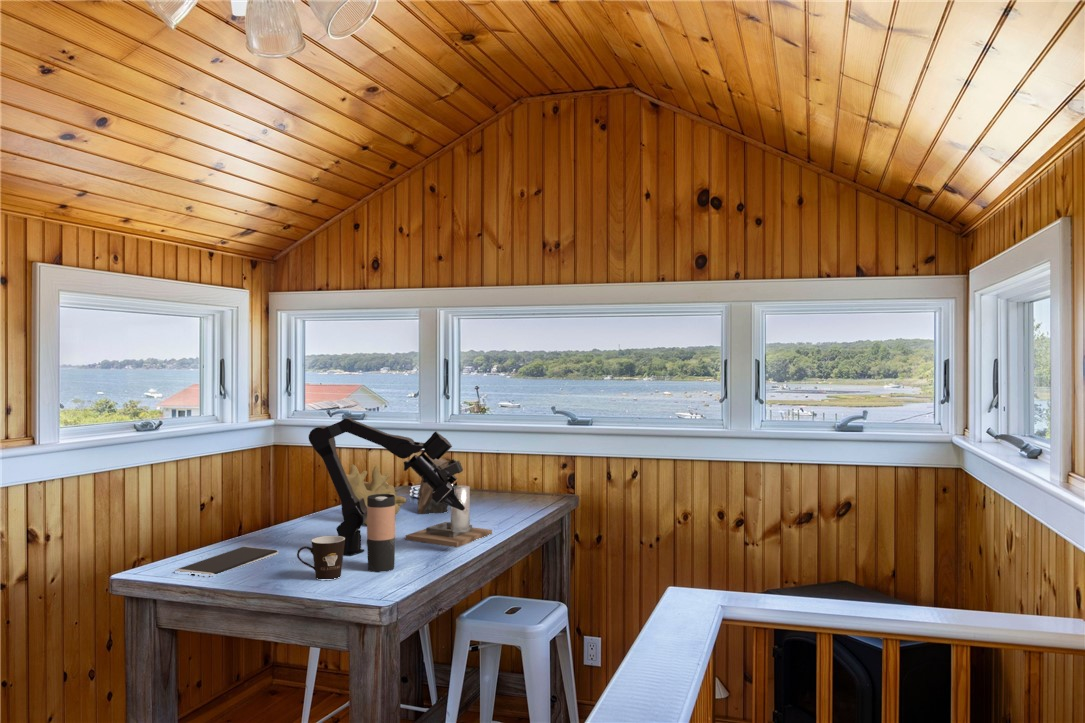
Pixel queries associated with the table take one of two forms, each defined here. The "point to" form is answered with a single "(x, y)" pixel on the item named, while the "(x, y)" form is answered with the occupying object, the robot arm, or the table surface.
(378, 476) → the decorative coral
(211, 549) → the table surface
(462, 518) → the steel cup
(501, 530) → the table surface
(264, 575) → the table surface
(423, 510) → the brown carved rock
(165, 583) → the table surface
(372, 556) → the travel mug
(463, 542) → the brown flat square board
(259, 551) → the dark rectangular slab
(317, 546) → the coffee mug
